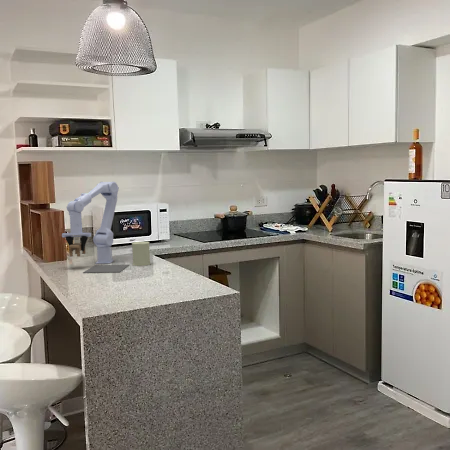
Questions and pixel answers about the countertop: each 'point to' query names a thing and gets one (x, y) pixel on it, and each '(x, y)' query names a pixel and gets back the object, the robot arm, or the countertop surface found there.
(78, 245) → the stool
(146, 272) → the countertop surface
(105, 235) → the robot arm
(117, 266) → the mat
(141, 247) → the can
